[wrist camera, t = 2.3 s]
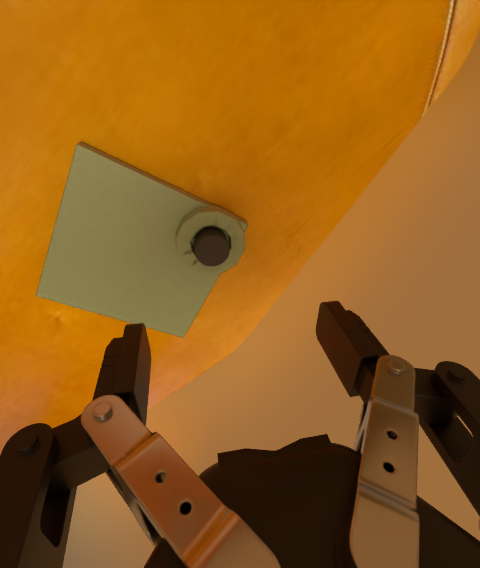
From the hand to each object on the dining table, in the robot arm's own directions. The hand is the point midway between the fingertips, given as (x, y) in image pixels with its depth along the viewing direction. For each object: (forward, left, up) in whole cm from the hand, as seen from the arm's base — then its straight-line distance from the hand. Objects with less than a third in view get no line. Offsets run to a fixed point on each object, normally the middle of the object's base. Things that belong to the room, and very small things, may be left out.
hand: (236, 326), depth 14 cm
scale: (+4, +6, -15) cm, 17 cm away
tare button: (-1, +2, -13) cm, 13 cm away
